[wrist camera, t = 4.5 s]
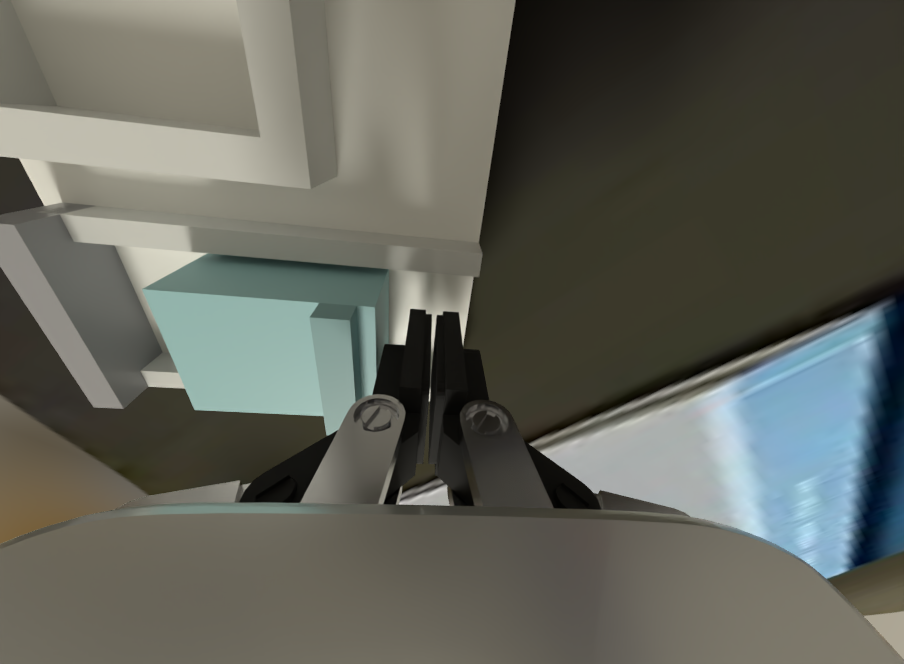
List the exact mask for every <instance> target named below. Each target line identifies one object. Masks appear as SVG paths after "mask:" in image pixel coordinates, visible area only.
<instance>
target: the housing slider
mask: <svg viewBox="0 0 904 664" xmlns="http://www.w3.org/2000/svg"><path fill="white" fill-rule="evenodd" d="M142 291H143V293H144V295H145V298H146V300H147V302H148V305H149V307H150V309H151V311H152V314H153V316H154V318H155V321H156V323H157V325H158V327H159V330H160V332H161V334H162V337H163V339H164V341H165V343H166V346H167V348H168V350H169V353H170V355H171V357H172V359H173V362H174V364H175V366H176V369H177V371H178V373H179V375H180V378H181V380H182V382H183V385H184V387H185V389H186V391H187V394H188V396H189V398H190V401H191V403H192V405H193V407H194V410H208V411H229V412H250V413H271V414H292V415H313V416H324V421H325V428H326V435H330V434H332V433H334V432H335V431H337V430H339V428H340V426H341V424H342V422H343V420H344V418H345V416H346V414H347V412H348V411H349V409H350V408H351V406H352V405H353V404H354V403H355V402H357V401H358V400H359V399H361V398H364V397H366V396H369V395H372V393H373V389H374V385H375V381H376V377H377V373H378V368H379V364H380V360H381V356H382V352H383V348H384V345H385V344H389V269H381V268H369V267H358V266H346V265H335V264H323V263H312V262H301V261H289V260H278V259H266V258H255V257H243V256H232V255H220V254H209V253H207V254H205V255H203V256H202V257H200V258H198V259H196V260H194V261H193V262H191V263H189V264H187V265H185V266H183V267H182V268H180V269H178V270H176V271H174V272H172V273H171V274H169V275H167V276H165V277H163V278H161V279H160V280H158V281H156V282H154V283H152V284H150V285H149V286H147V287H145V288H143V289H142Z"/></svg>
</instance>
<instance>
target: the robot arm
mask: <svg viewBox="0 0 904 664" xmlns="http://www.w3.org/2000/svg"><path fill="white" fill-rule="evenodd" d="M431 333H432V314H426V310H422V309H410V315H409V322H408V329H407V336H406V342H405V345H395V344H385V345H384V348H383V352H382V356H381V360H380V364H379V368H378V373H377V377H376V381H375V385H374V389H373V393H372V395H369V396H366V397H364V398H361V399H359V400H358V401H357V402H355V403H354V404H353V405H352V406H351V408H350V409H349V411H348V412H347V414H346V416H345V418H344V420H343V422H342V424H341V426H340V428H339V430H337V431H335V432H334V433H332V434H330V435H328V436H327V437H325V438H323V439H322V440H320V441H318V442H316V443H315V444H313V445H311V446H310V447H308V448H306V449H304V450H303V451H301V452H299V453H298V454H296V455H294V456H292V457H291V458H289V459H287V460H285V461H284V462H282V463H280V464H279V465H277V466H275V467H273V468H272V469H270V470H268V471H267V472H265V473H263V474H262V475H260V476H259V477H258V478H256V479H255V480H254V481H253V482H252V483H250V484H244V485H242V484H241V481H234V482H228V483H222V484H217V485H211V486H205V487H199V488H193V489H187V490H181V491H175V492H169V493H164V494H158V495H152V496H146V497H142V498H139V499H136V500H132V501H130V502H128V503H126V504H124V505H122V506H120V507H118V508H116V509H115V510H111V511H106V512H100V513H95V514H91V515H85V516H82V517H78V518H75V519H71V520H68V521H64V522H61V523H57V524H54V525H50V526H47V527H44V528H41V529H38V530H35V531H32V532H30V533H27V534H24V535H21V536H19V537H16V538H14V539H11V540H9V541H7V542H4V543H2V544H0V664H904V659H903V658H902V657H901V656H900V655H899V654H898V653H897V652H896V651H895V650H894V648H893V647H892V646H891V645H890V644H889V643H888V642H887V641H886V640H885V638H884V637H883V636H882V635H881V634H880V633H879V632H878V631H877V630H876V629H875V628H874V627H873V626H872V625H871V624H870V623H869V621H868V620H867V619H866V618H864V616H863V615H862V614H861V613H860V612H859V611H858V610H857V609H856V608H855V607H854V606H853V605H852V604H851V603H850V602H849V601H848V600H847V599H846V598H845V597H844V596H843V595H842V594H841V593H840V592H839V591H838V590H837V589H836V588H835V587H834V586H833V585H832V584H831V583H830V582H829V581H828V580H827V579H826V578H825V577H823V576H822V575H821V574H820V573H819V572H817V571H816V570H815V569H814V568H813V567H811V566H810V565H809V564H808V563H806V562H805V561H803V560H802V559H800V558H799V557H797V556H796V555H794V554H793V553H791V552H789V551H787V550H785V549H783V548H782V547H780V546H778V545H776V544H774V543H772V542H769V541H767V540H765V539H763V538H760V537H758V536H755V535H752V534H750V533H747V532H744V531H742V530H739V529H736V528H734V527H731V526H727V525H723V524H720V523H716V522H712V521H708V520H704V519H699V518H693V517H690V516H689V515H687V514H686V513H684V512H682V511H679V510H677V509H674V508H670V507H666V506H662V505H658V504H654V503H650V502H646V501H642V500H638V499H634V498H630V497H626V496H621V495H617V494H613V493H609V492H605V491H601V490H600V491H599V493H598V494H595V493H593V492H592V491H591V490H590V489H589V488H588V487H587V486H586V485H585V484H583V483H582V482H581V481H579V480H578V479H577V478H575V477H574V476H572V475H571V474H570V473H568V472H567V471H565V470H564V469H563V468H561V467H560V466H558V465H557V464H556V463H554V462H553V461H551V460H550V459H549V458H547V457H546V456H544V455H543V454H542V453H540V452H539V451H537V450H536V449H535V448H533V447H532V446H530V445H529V444H528V443H526V442H525V441H523V439H522V436H521V434H520V432H519V430H518V428H517V425H516V423H515V421H514V419H513V417H512V415H511V414H510V412H509V411H508V410H507V409H506V408H505V407H503V406H502V405H500V404H498V403H496V402H493V401H490V400H489V397H488V392H487V387H486V381H485V376H484V371H483V366H482V360H481V355H480V351H479V350H472V349H463V343H462V334H461V326H460V317H459V312H448V311H443V315H437V317H436V328H435V338H434V349H433V360H432V370H431ZM430 370H431V384H430ZM429 393H430V422H429V464H435V475H437V476H438V477H439V478H440V479H441V480H442V481H443V482H445V483H446V484H447V485H448V487H447V489H448V499H449V504H450V506H435V505H399V501H400V497H401V493H402V486H403V485H404V484H405V483H406V482H407V481H409V480H410V479H411V478H412V477H413V476H415V469H416V463H418V464H423V457H424V447H425V436H426V426H427V415H428V405H429Z"/></svg>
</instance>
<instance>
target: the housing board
mask: <svg viewBox="0 0 904 664" xmlns="http://www.w3.org/2000/svg"><path fill="white" fill-rule="evenodd" d="M515 1H516V0H0V156H2V157H12V158H19V159H20V161H21V163H22V165H23V167H24V168H25V170H26V172H27V174H28V176H29V178H30V180H31V182H32V183H33V185H34V187H35V189H36V191H37V193H38V195H39V197H40V198H41V200H42V202H43V204H44V206H42V207H37V208H32V209H27V210H23V211H18V212H13V213H8V214H3V215H0V267H1V268H2V270H3V271H4V273H5V274H6V276H7V277H8V279H9V280H10V282H11V283H12V285H13V286H14V288H15V289H16V291H17V292H18V294H19V295H20V297H21V298H22V300H23V301H24V303H25V304H26V306H27V307H28V309H29V310H30V312H31V313H32V315H33V316H34V318H35V319H36V321H37V322H38V324H39V325H40V327H41V328H42V330H43V332H44V333H45V335H46V336H47V338H48V339H49V341H50V342H51V344H52V345H53V347H54V348H55V350H56V351H57V353H58V354H59V356H60V357H61V359H62V360H63V362H64V363H65V365H66V366H67V368H68V369H69V371H70V372H71V374H72V375H73V377H74V378H75V380H76V381H77V383H78V384H79V386H80V387H81V389H82V390H83V392H84V393H85V395H86V396H87V398H88V399H89V401H90V402H91V404H92V405H93V407H99V408H120V409H124V408H125V407H126V406H127V405H128V404H129V403H130V402H132V401H133V400H134V399H135V398H136V397H137V396H138V395H139V394H141V393H142V392H143V391H144V390H145V389H146V388H147V387H148V386H149V387H168V388H185V387H184V385H183V382H182V380H181V378H180V375H179V373H178V371H177V369H176V366H175V364H174V362H173V359H172V357H171V355H170V353H169V350H168V348H167V346H166V343H165V341H164V339H163V337H162V334H161V332H160V330H159V327H158V325H157V323H156V321H155V318H154V316H153V314H152V311H151V309H150V307H149V305H148V302H147V300H146V298H145V295H144V293H143V291H142V289H143V288H145V287H147V286H149V285H150V284H152V283H154V282H156V281H158V280H160V279H161V278H163V277H165V276H167V275H169V274H171V273H172V272H174V271H176V270H178V269H180V268H182V267H183V266H185V265H187V264H189V263H191V262H193V261H194V260H196V259H198V258H200V257H202V256H203V255H205V254H207V253H209V254H220V255H232V256H243V257H255V258H266V259H278V260H289V261H301V262H312V263H323V264H335V265H346V266H358V267H369V268H381V269H389V344H395V345H405V342H406V336H407V329H408V322H409V315H410V309H422V310H426V314H432V333H431V370H432V360H433V349H434V338H435V328H436V317H437V315H443V311H448V312H459V317H460V326H461V334H462V343H464V336H465V330H466V323H467V317H468V310H469V303H470V297H471V290H472V284H473V277H479V273H480V267H481V261H482V255H483V253H482V251H481V248H480V245H479V238H480V231H481V225H482V218H483V211H484V205H485V198H486V192H487V185H488V178H489V172H490V165H491V159H492V152H493V146H494V139H495V132H496V126H497V119H498V113H499V106H500V100H501V93H502V86H503V80H504V73H505V67H506V60H507V54H508V47H509V40H510V34H511V27H512V21H513V14H514V7H515ZM431 370H430V384H431ZM429 401H430V393H429Z"/></svg>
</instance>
